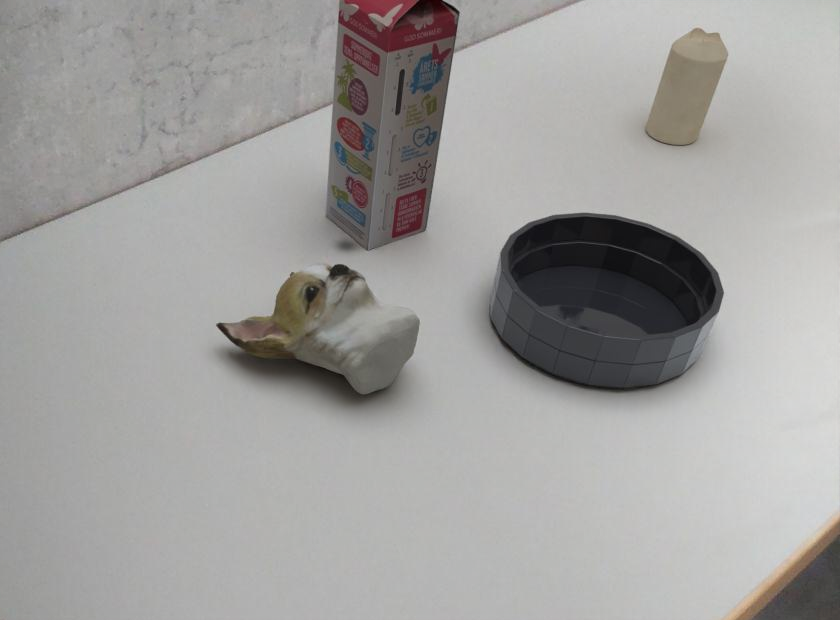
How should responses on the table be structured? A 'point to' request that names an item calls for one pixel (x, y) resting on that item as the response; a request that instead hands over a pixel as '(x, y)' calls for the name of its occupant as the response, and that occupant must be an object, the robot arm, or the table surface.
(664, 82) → the candle
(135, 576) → the table surface
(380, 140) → the juice carton
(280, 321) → the ceramic sculpture
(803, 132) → the table surface
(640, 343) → the pan
